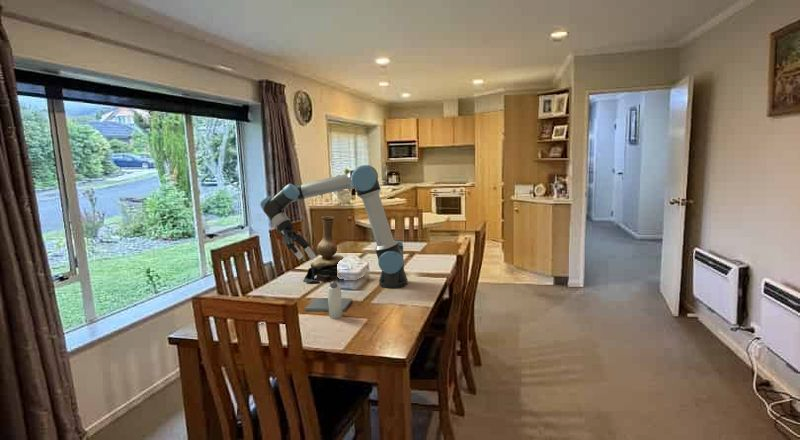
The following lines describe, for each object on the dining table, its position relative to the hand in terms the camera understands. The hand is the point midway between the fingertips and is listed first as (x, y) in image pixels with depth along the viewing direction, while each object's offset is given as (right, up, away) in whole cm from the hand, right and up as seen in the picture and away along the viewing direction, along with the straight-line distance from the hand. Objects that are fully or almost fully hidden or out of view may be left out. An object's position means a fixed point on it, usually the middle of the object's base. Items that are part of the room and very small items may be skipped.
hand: (307, 258), depth 201 cm
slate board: (+11, -21, -6) cm, 25 cm away
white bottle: (+16, -23, -19) cm, 34 cm away
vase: (+1, -15, +42) cm, 45 cm away
